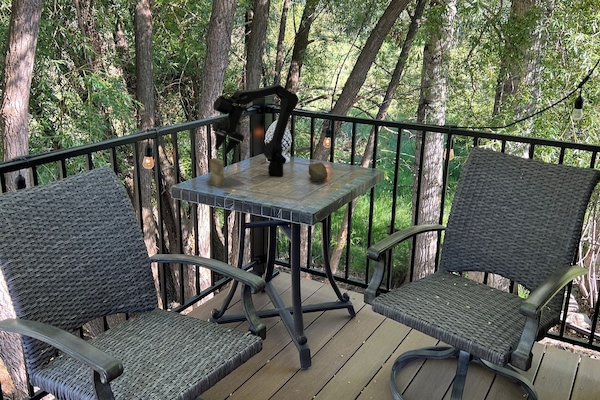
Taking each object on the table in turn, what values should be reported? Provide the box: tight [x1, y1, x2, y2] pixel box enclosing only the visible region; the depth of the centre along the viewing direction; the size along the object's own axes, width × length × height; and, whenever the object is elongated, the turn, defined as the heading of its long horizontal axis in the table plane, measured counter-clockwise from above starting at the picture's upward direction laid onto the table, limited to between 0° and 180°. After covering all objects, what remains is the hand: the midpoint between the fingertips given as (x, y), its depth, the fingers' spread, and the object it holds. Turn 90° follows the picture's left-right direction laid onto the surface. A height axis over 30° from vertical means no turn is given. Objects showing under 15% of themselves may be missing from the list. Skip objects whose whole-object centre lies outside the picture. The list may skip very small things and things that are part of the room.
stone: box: [308, 162, 328, 182], centre depth 266 cm, size 17×9×8 cm, turn 6°
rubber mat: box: [205, 176, 246, 190], centre depth 260 cm, size 13×14×1 cm
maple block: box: [209, 157, 225, 187], centre depth 256 cm, size 4×6×11 cm, turn 35°
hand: (221, 151), depth 254 cm, fingers open, 9 cm apart
